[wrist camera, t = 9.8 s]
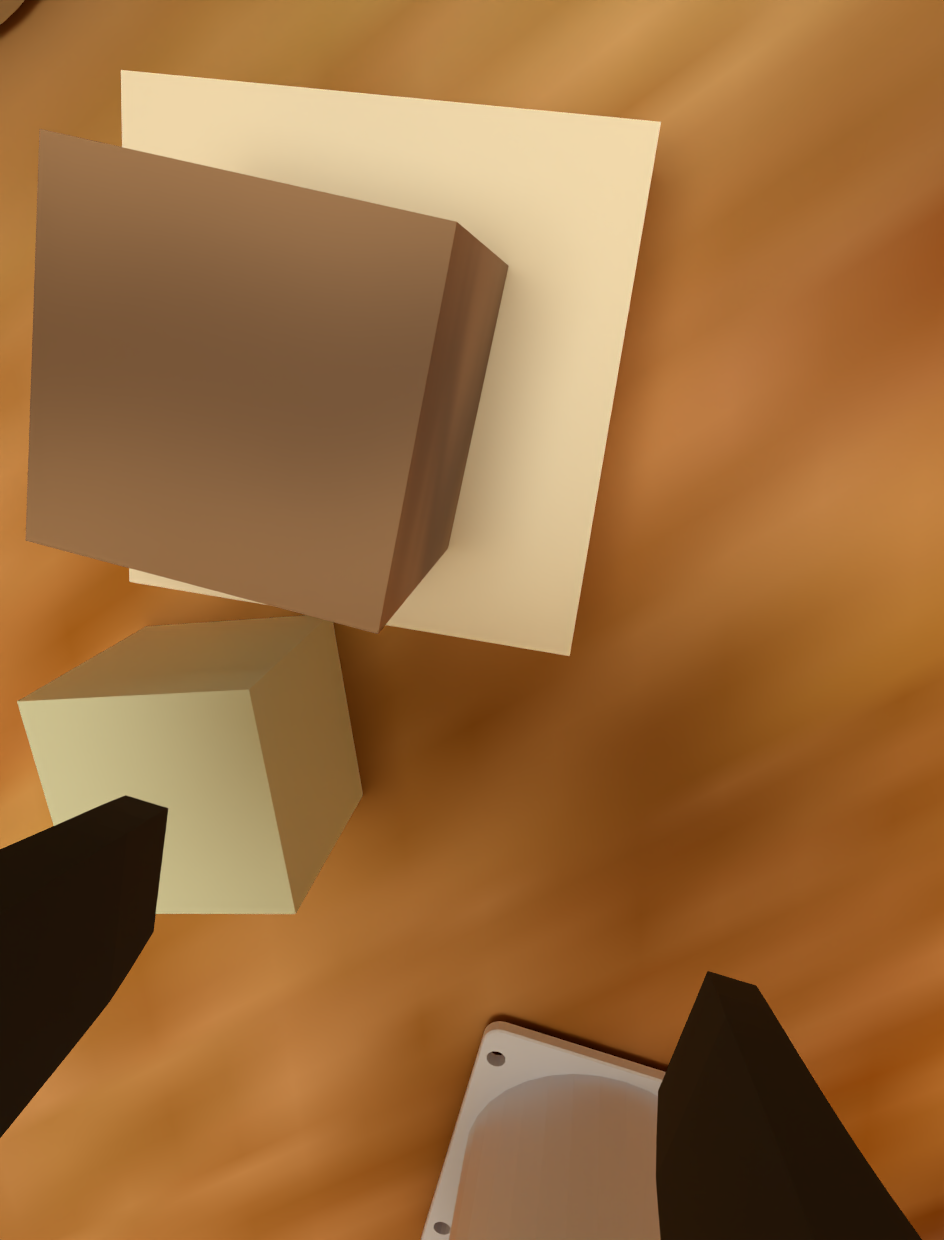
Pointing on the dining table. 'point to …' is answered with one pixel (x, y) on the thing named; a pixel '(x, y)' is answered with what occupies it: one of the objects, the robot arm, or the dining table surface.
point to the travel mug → (8, 8)
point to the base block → (528, 316)
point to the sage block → (210, 753)
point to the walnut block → (250, 380)
